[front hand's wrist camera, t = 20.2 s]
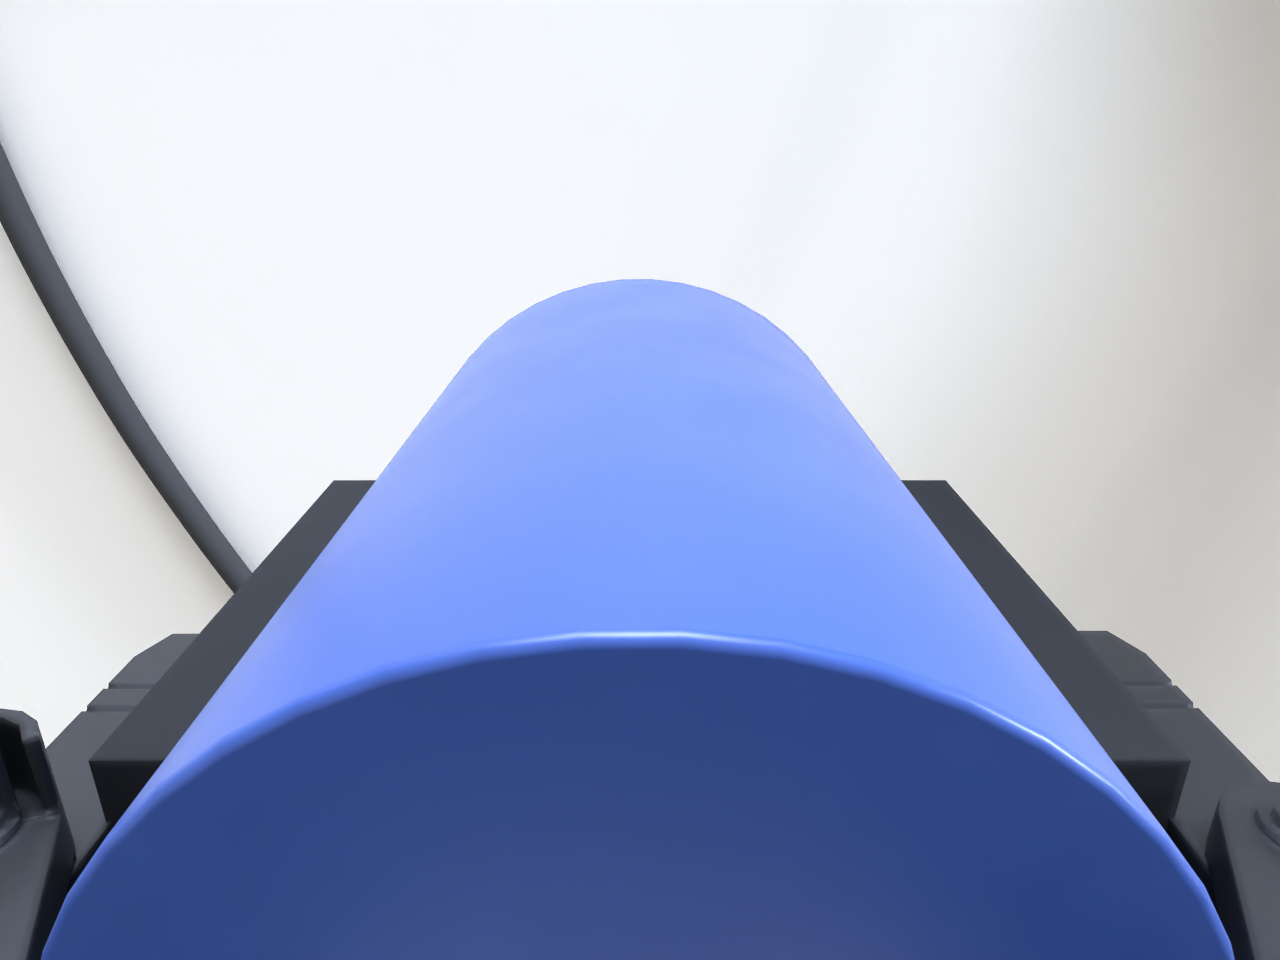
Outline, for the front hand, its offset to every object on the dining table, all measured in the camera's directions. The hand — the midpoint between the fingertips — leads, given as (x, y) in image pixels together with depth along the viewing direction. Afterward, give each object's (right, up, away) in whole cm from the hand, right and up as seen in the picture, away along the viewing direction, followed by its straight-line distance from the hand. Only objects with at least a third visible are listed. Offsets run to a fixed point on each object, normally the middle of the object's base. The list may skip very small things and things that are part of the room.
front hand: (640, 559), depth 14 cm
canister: (0, +1, +3) cm, 3 cm away
